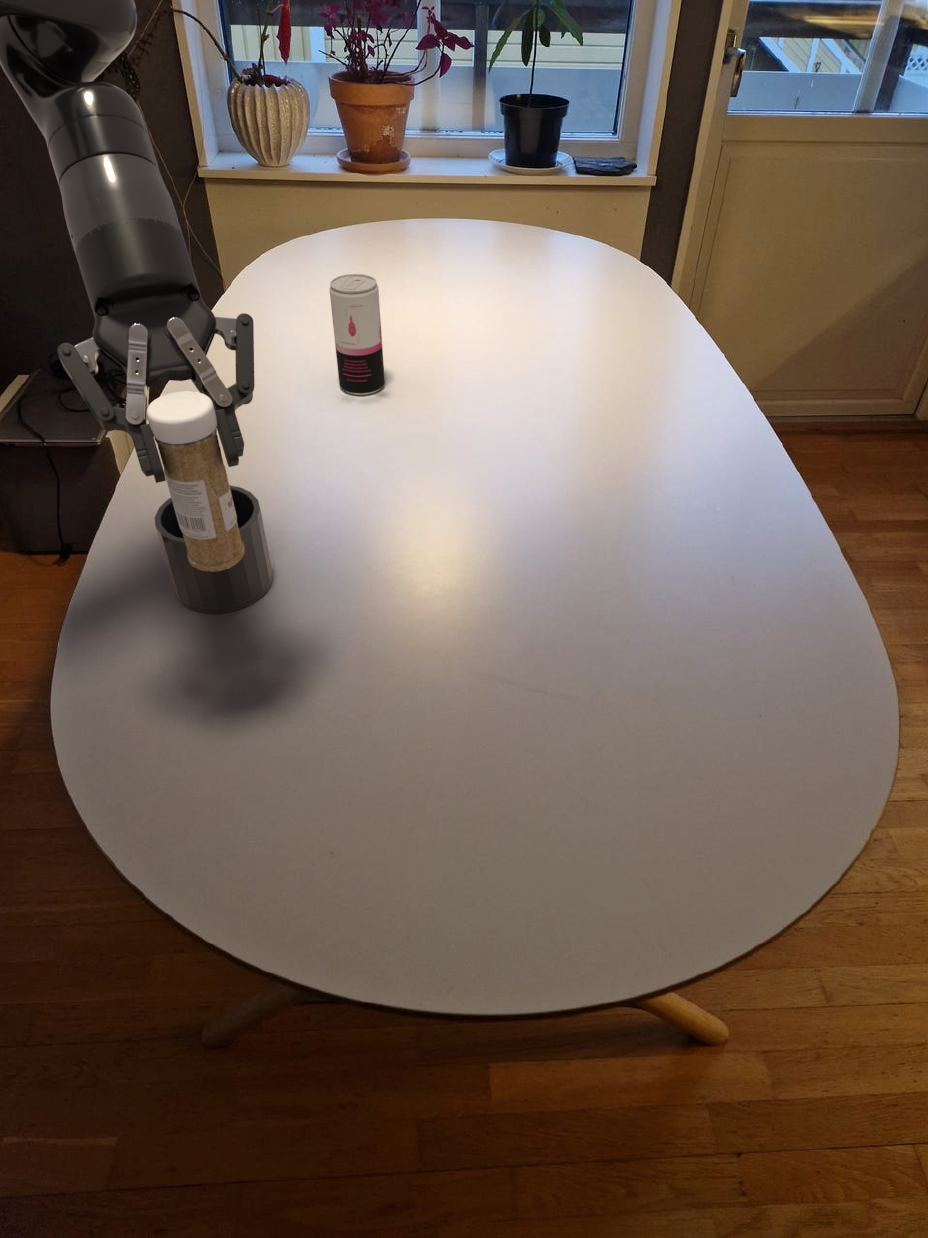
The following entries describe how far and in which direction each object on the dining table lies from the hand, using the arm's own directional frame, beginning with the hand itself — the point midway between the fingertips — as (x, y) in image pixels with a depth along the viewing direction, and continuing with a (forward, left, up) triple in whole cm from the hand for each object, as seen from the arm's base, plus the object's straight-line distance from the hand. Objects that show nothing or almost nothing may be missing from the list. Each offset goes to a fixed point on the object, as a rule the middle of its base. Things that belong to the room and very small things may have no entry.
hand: (197, 470), depth 61 cm
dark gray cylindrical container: (-1, +19, -25) cm, 32 cm away
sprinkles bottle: (0, +2, -9) cm, 9 cm away
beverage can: (+23, +59, -25) cm, 68 cm away
